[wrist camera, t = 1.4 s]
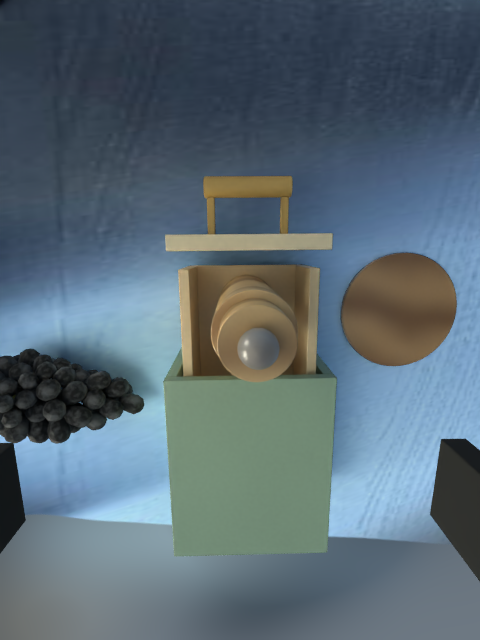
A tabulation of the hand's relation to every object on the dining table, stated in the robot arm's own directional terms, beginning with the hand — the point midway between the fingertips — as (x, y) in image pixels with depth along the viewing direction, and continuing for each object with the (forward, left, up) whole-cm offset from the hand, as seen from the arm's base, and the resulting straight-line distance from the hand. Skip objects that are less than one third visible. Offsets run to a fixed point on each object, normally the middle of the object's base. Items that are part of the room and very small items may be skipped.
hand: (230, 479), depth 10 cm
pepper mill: (-2, +1, -23) cm, 23 cm away
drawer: (-3, +1, -24) cm, 24 cm away
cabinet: (+12, +1, -25) cm, 27 cm away
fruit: (+8, -17, -25) cm, 31 cm away
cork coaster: (0, +17, -25) cm, 30 cm away
